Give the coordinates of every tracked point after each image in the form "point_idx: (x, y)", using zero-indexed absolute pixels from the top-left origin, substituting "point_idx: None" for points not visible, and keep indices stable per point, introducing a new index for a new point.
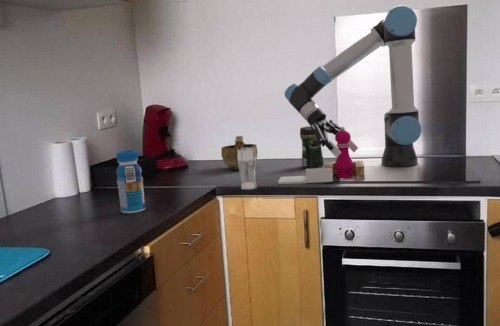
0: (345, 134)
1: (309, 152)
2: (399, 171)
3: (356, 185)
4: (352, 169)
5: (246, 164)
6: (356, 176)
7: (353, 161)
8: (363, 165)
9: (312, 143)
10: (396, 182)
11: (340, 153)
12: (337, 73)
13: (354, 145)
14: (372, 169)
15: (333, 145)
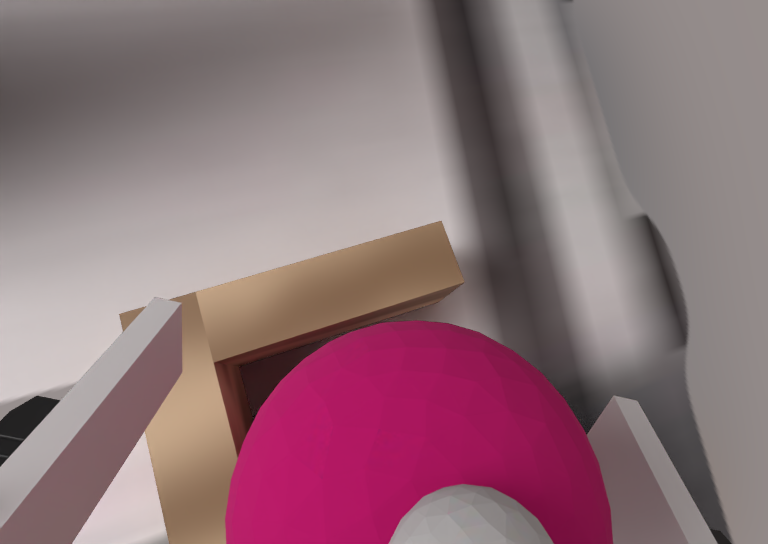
0: (553, 392)
1: None
2: (113, 85)
3: (607, 255)
4: (235, 390)
5: None
6: (435, 300)
7: (172, 391)
8: (397, 236)
9: None
10: (476, 61)
11: (612, 407)
12: None
13: (151, 349)
14: (10, 287)
15: (710, 538)
